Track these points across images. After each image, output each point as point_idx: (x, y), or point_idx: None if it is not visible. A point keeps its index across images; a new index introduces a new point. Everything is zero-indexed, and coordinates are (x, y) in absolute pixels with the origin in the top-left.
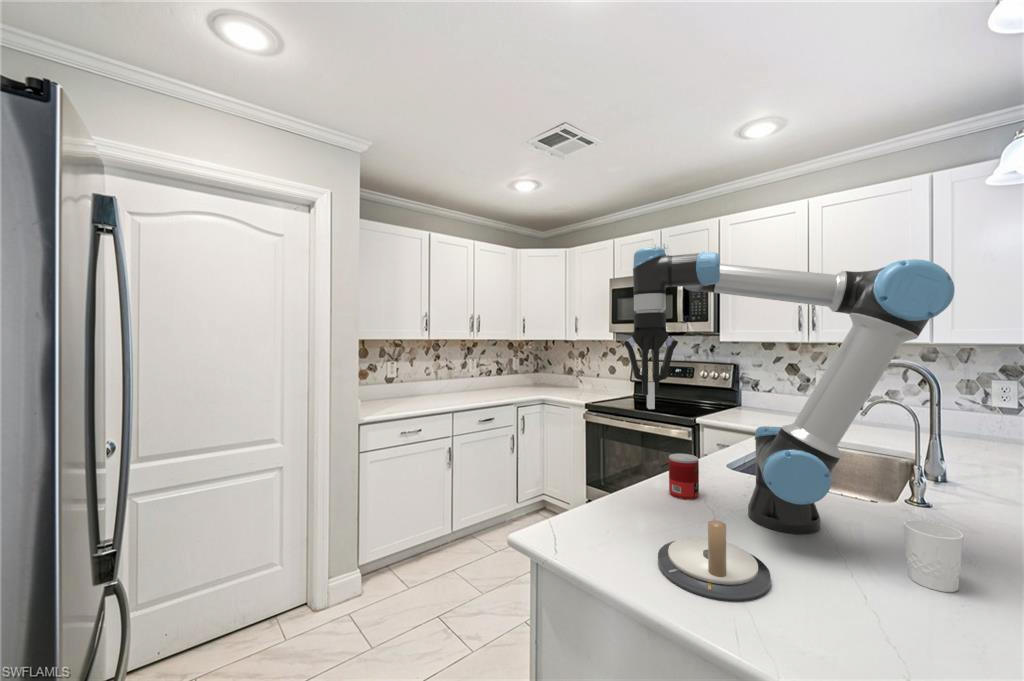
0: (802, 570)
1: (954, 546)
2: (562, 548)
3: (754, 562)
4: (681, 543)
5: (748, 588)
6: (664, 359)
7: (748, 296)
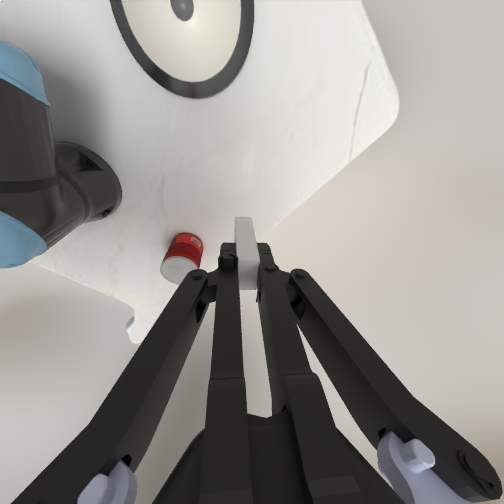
0: (64, 19)
1: None
2: (356, 82)
3: None
4: (217, 57)
5: None
6: (178, 364)
7: None
